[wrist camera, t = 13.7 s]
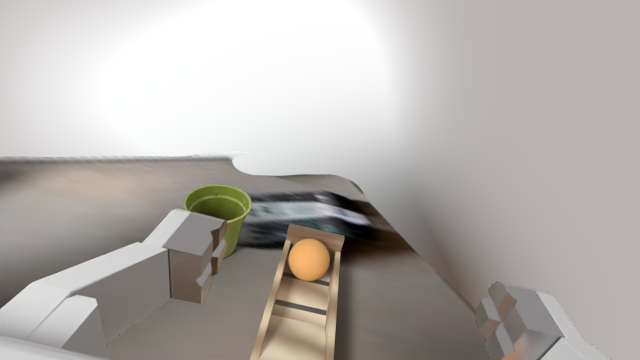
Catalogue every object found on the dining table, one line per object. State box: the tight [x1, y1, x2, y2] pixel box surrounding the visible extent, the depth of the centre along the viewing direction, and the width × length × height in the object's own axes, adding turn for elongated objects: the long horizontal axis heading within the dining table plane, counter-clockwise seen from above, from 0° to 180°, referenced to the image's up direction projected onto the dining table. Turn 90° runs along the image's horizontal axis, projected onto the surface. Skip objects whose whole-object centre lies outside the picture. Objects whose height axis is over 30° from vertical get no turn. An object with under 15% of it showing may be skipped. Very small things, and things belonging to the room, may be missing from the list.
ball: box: [289, 239, 330, 281], centre depth 46 cm, size 6×6×6 cm
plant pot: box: [183, 184, 252, 258], centre depth 48 cm, size 9×9×9 cm
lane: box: [250, 224, 344, 360], centre depth 40 cm, size 22×9×7 cm, turn 174°
